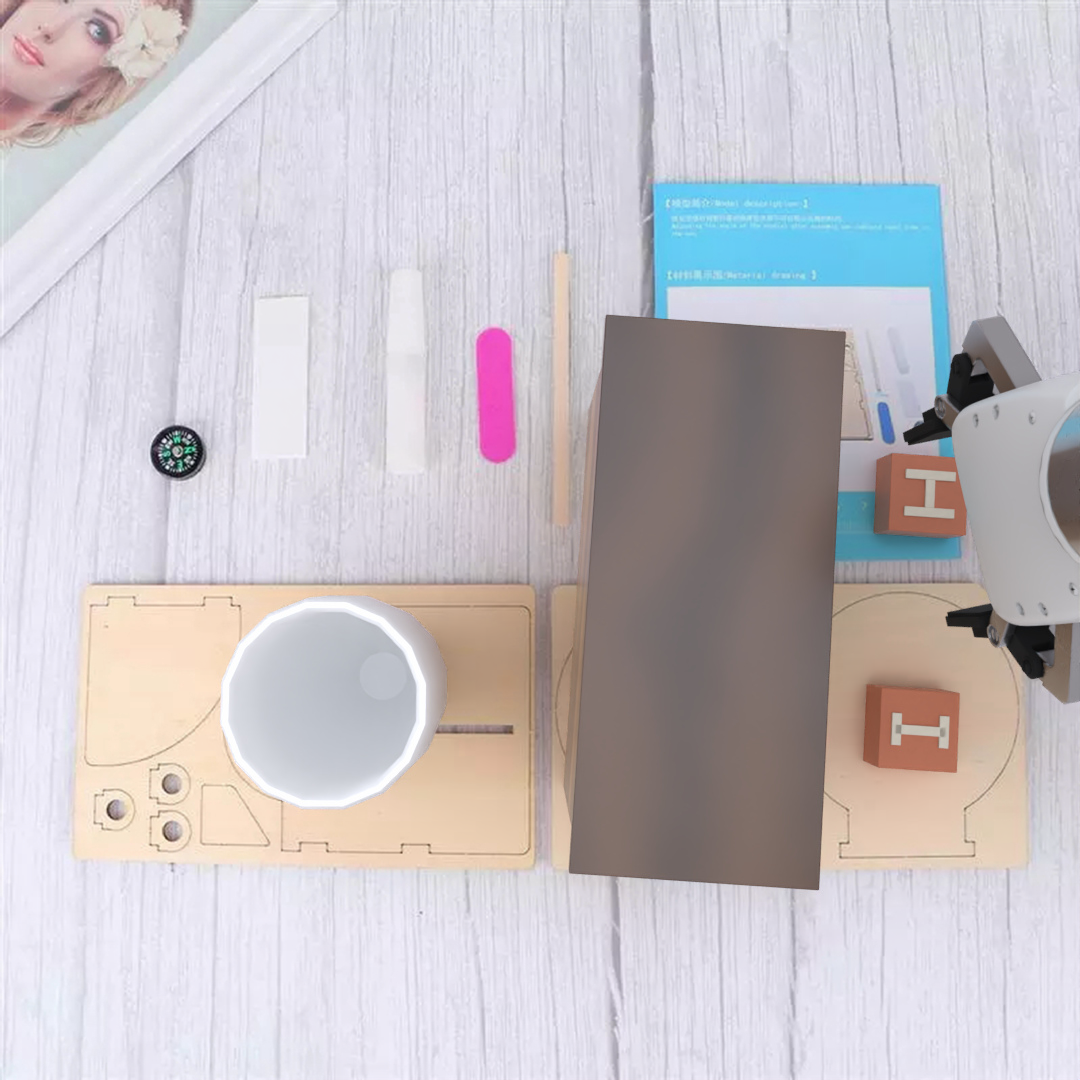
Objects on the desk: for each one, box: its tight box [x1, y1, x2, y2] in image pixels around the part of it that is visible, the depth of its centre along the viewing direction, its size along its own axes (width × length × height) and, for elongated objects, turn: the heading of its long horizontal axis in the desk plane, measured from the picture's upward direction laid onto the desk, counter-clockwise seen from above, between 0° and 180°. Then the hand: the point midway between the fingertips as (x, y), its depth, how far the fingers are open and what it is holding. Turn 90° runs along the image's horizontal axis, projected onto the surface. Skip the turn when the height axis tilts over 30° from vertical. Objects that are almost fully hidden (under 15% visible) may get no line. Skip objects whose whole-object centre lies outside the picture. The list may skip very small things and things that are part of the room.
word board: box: [568, 314, 847, 891], centre depth 43 cm, size 11×25×1 cm, turn 176°
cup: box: [219, 594, 448, 810], centre depth 54 cm, size 10×10×22 cm
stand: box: [562, 366, 602, 825], centre depth 55 cm, size 10×25×22 cm, turn 176°
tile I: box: [862, 684, 961, 774], centre depth 63 cm, size 5×5×5 cm
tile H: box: [872, 452, 968, 540], centre depth 64 cm, size 5×5×5 cm
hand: (952, 523), depth 50 cm, fingers open, 9 cm apart
